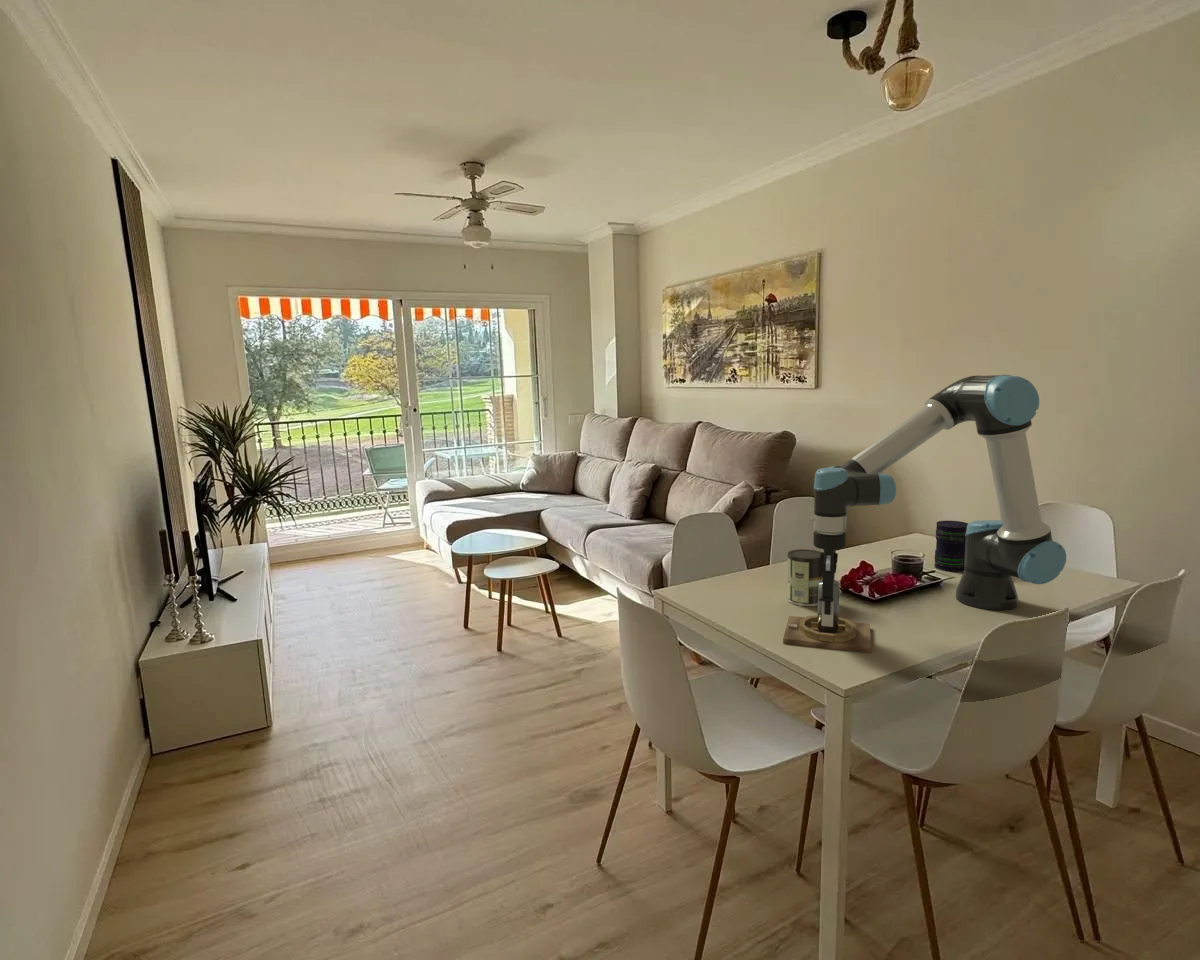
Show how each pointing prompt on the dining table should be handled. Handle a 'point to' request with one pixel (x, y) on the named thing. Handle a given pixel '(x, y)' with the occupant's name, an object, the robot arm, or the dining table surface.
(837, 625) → the grey rounded cylinder
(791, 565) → the coffee can
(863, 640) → the board
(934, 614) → the dining table surface
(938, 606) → the dining table surface
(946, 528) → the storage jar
